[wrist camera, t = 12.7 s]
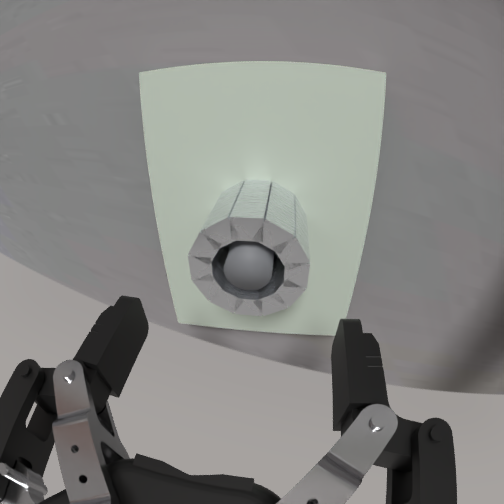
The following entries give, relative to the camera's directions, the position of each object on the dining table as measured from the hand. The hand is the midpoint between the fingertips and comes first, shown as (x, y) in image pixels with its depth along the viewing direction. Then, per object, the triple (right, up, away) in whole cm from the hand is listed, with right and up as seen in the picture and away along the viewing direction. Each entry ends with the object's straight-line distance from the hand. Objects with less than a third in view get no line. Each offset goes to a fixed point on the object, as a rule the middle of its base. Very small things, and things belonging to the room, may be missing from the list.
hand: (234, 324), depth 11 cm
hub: (+1, +5, +8) cm, 9 cm away
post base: (+1, +6, +9) cm, 11 cm away
